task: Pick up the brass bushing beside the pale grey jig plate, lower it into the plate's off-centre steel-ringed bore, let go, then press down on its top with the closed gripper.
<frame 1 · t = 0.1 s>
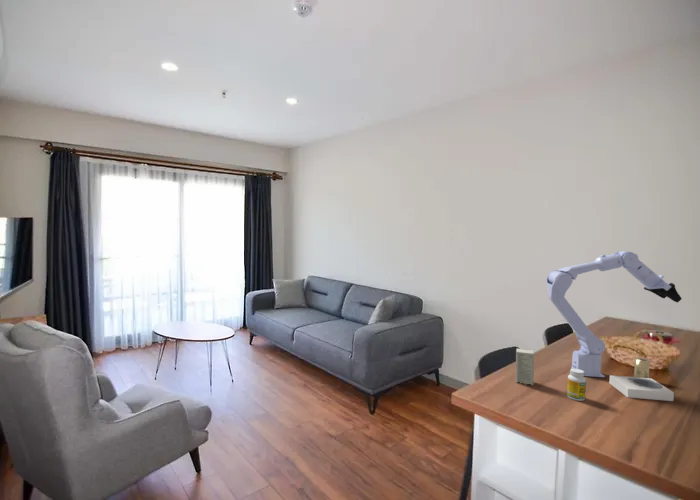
hand: (672, 298, 141), 32 cm above the counter, tool tilted 50°, fingers open, 7 cm apart
jig plate: (639, 391, 131), on the counter
skincare box: (524, 382, 138), on the counter
supplement bottle: (575, 398, 126), on the counter
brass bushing: (641, 379, 142), on the counter
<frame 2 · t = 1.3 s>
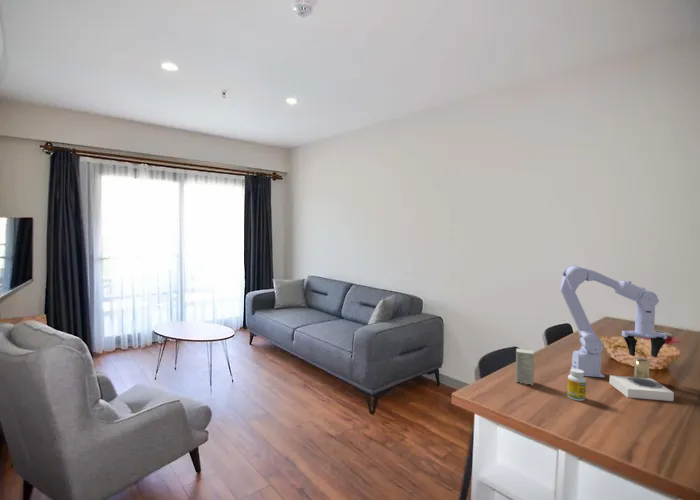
hand: (643, 355, 141), 10 cm above the counter, tool pointing down, fingers open, 7 cm apart
nothing on the counter moved.
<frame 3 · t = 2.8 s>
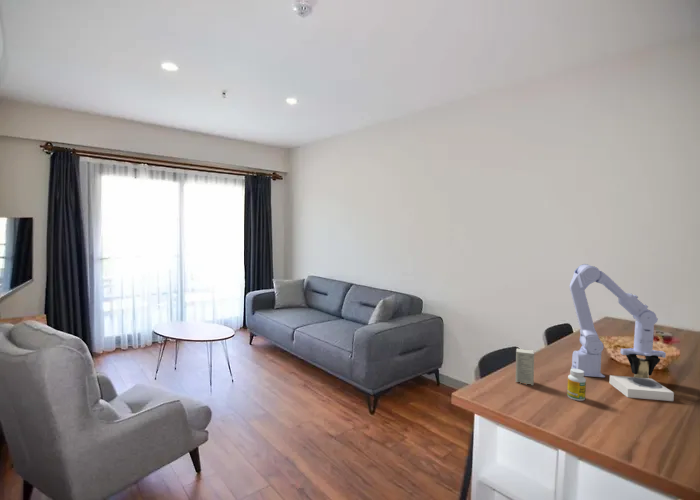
hand: (641, 373, 141), 2 cm above the counter, tool pointing down, fingers closed on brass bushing, 4 cm apart
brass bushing: (641, 379, 142), on the counter, touching gripper
everything else where it was.
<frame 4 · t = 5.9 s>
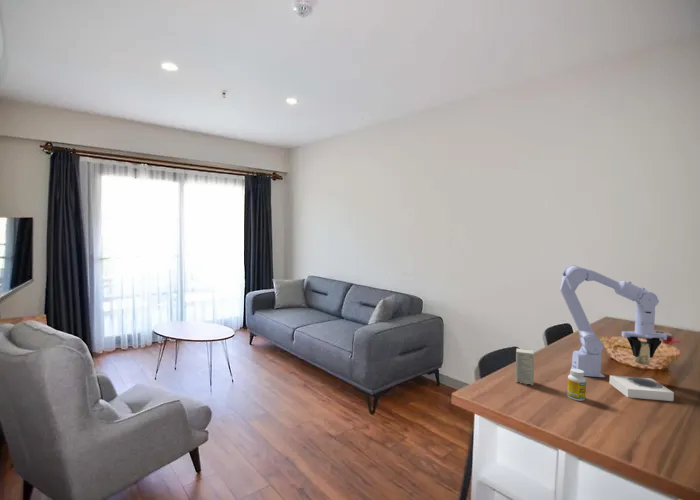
hand: (642, 356, 141), 9 cm above the counter, tool pointing down, fingers closed on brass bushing, 4 cm apart
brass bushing: (642, 362, 141), point 7 cm above the counter, touching gripper
everything else where it was.
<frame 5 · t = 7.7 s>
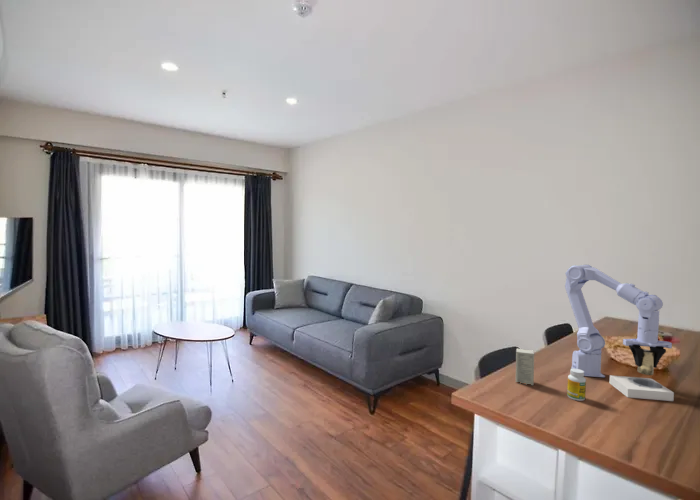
hand: (645, 366, 131), 9 cm above the counter, tool pointing down, fingers closed on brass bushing, 4 cm apart
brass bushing: (645, 372, 131), point 7 cm above the counter, touching gripper
everything else where it was.
when the fingers open (4 cm above the counter, at t = 9.3 s): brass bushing drops 1 cm, resting in jig plate.
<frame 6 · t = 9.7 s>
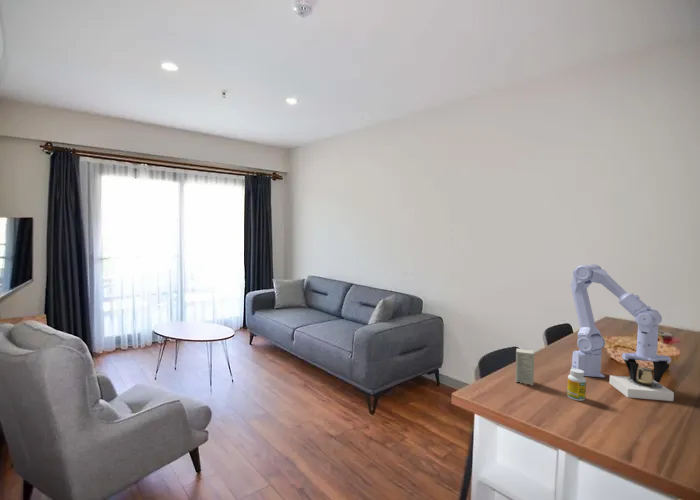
hand: (644, 380, 131), 4 cm above the counter, tool pointing down, fingers open, 7 cm apart
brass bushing: (644, 391, 132), resting in jig plate
everything else where it was.
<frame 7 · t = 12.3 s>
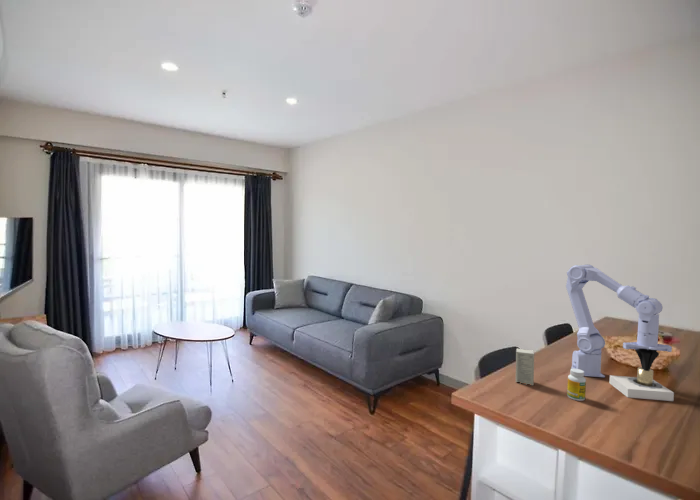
hand: (645, 369, 131), 8 cm above the counter, tool pointing down, fingers closed, pressing on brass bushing
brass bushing: (644, 391, 132), resting in jig plate, touching gripper
everything else where it was.
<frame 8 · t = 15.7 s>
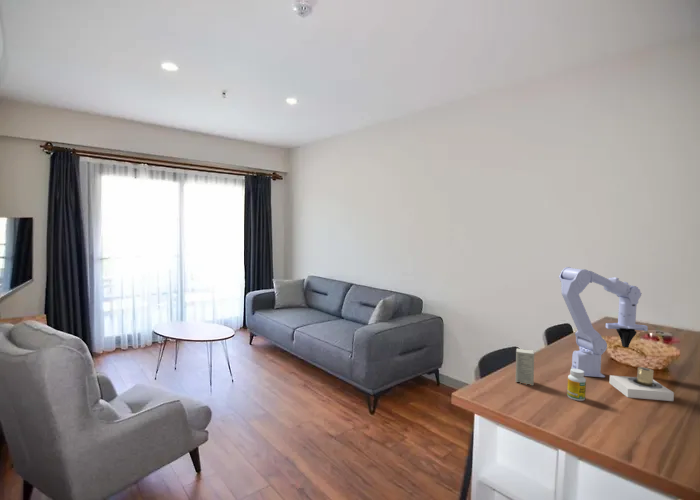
hand: (625, 346, 149), 10 cm above the counter, tool pointing down, fingers closed
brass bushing: (644, 391, 132), resting in jig plate
everything else where it was.
at the end: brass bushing 0.0 cm from the target spot, resting in jig plate; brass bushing tilted 0°; the gripper is holding nothing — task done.
